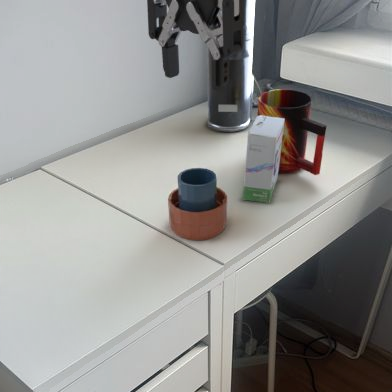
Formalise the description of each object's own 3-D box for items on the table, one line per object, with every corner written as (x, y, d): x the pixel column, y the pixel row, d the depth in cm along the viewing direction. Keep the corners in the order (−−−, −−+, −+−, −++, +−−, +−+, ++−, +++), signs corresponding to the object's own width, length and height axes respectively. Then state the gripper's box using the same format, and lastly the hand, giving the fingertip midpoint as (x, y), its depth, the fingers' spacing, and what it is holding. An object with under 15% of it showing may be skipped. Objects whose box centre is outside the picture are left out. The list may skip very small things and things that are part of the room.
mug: (317, 181, 94) (327, 115, 85) (247, 168, 98) (250, 104, 89) (330, 160, 100) (341, 96, 91) (264, 149, 104) (268, 86, 96)
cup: (196, 209, 87) (195, 164, 81) (223, 221, 84) (224, 175, 78) (172, 223, 83) (169, 178, 78) (199, 236, 81) (198, 190, 75)
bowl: (196, 205, 89) (195, 178, 85) (237, 223, 84) (239, 195, 81) (158, 227, 84) (155, 199, 80) (200, 247, 79) (200, 219, 76)
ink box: (251, 178, 95) (255, 113, 87) (278, 181, 94) (285, 116, 86) (241, 200, 89) (245, 133, 81) (270, 204, 88) (277, 136, 80)
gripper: (262, -73, 55) (253, 86, 67) (169, -80, 62) (175, 65, 74) (218, -65, 51) (217, 102, 63) (123, -73, 58) (138, 79, 70)
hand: (194, 82), depth 68 cm, fingers open, 8 cm apart
